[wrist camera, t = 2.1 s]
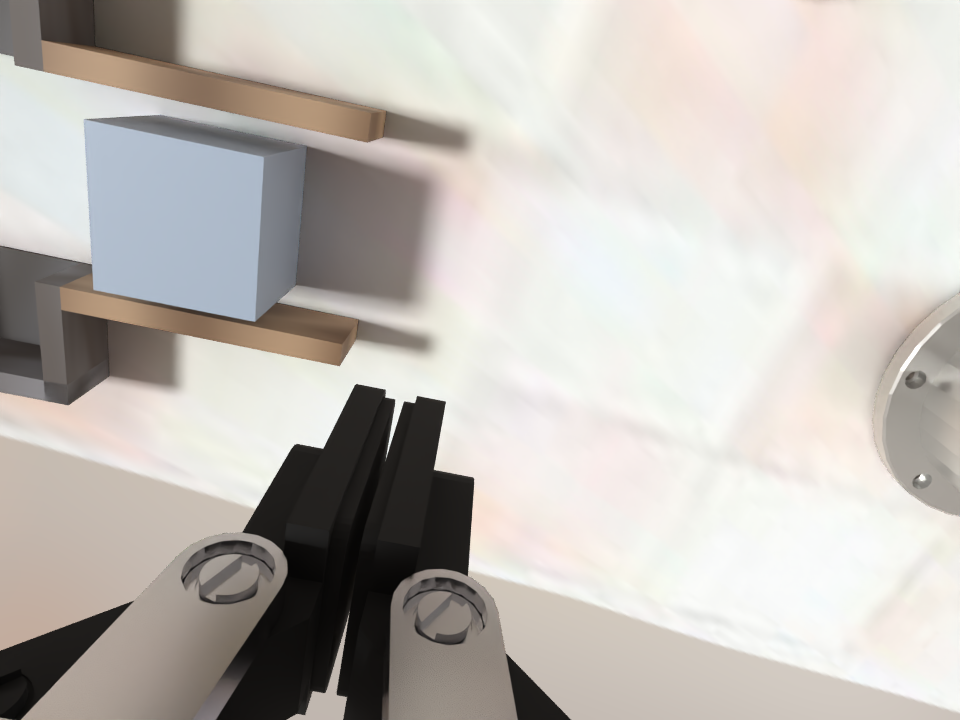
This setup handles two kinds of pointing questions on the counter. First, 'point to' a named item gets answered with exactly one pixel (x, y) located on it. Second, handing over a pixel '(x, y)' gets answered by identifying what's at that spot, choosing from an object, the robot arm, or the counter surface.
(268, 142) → the block
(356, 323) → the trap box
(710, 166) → the counter surface
